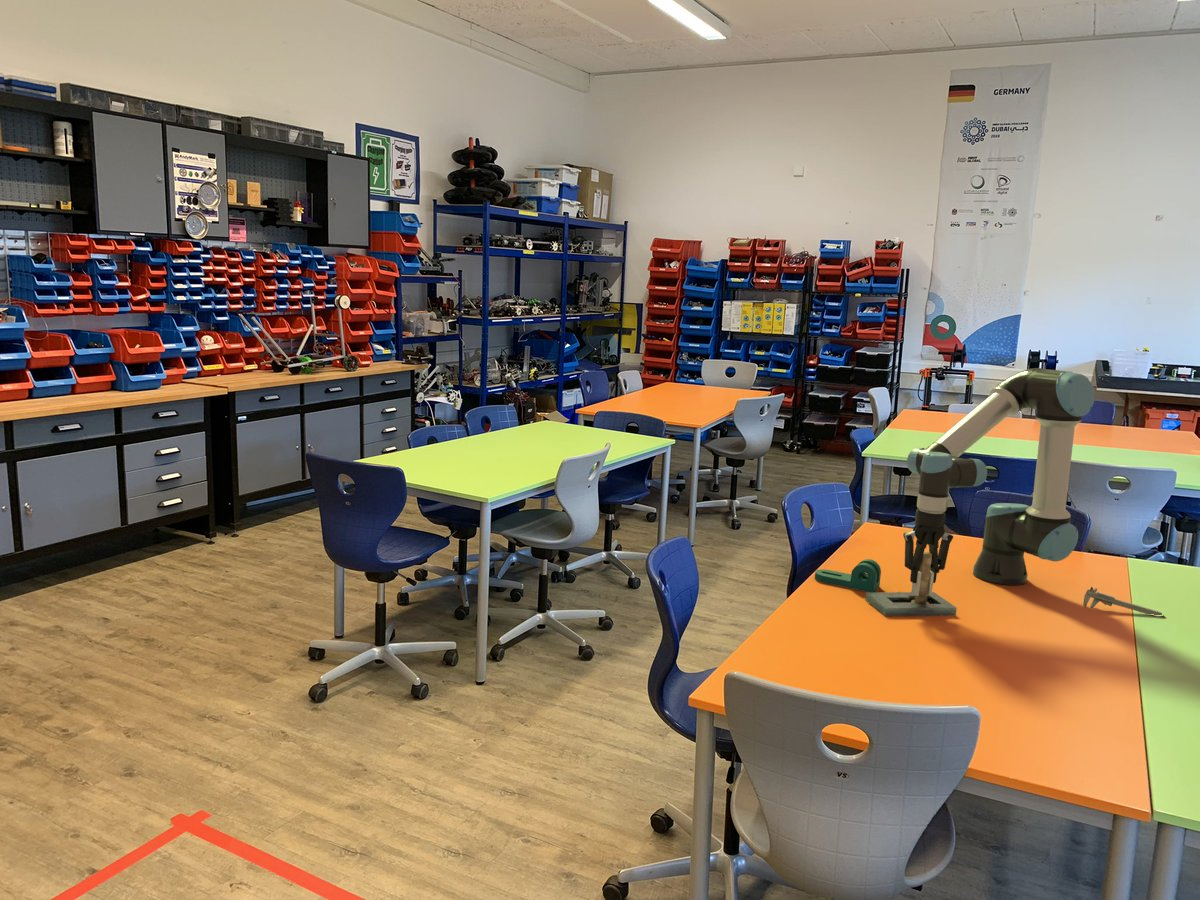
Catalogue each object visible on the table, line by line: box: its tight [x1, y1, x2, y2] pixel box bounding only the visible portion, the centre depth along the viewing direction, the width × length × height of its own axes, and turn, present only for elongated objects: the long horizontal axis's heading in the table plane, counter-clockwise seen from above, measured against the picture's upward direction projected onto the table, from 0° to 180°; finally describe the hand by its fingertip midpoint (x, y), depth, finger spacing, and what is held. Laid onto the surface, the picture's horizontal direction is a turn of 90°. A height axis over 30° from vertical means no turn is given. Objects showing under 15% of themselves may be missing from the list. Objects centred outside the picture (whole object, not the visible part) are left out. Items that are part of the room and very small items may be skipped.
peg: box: [910, 551, 932, 604], centre depth 237 cm, size 5×5×15 cm
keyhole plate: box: [865, 591, 957, 617], centre depth 238 cm, size 20×12×2 cm, turn 98°
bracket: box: [814, 558, 882, 592], centre depth 256 cm, size 18×7×8 cm, turn 59°
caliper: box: [1082, 586, 1165, 616], centre depth 242 cm, size 20×1×6 cm, turn 73°
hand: (921, 593), depth 238 cm, fingers closed on peg, 3 cm apart
